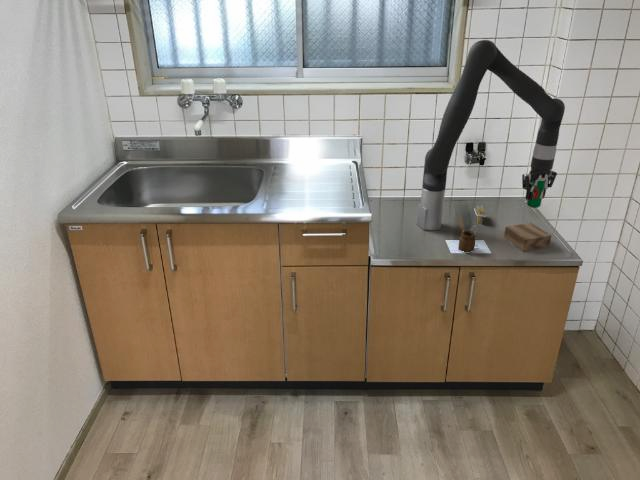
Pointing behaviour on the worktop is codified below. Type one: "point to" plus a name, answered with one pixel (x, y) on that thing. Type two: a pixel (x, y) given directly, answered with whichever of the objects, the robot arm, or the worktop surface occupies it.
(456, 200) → the worktop surface
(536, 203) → the soda can
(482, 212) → the grey flat gold-topped slab
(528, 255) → the worktop surface
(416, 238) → the worktop surface
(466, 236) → the utensil holder
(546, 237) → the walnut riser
